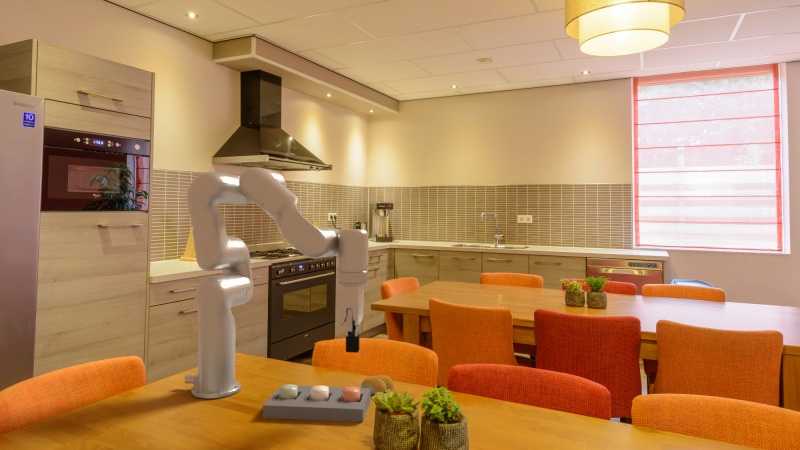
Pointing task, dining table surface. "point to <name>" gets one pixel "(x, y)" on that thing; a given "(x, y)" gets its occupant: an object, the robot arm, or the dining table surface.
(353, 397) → the terracotta button
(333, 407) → the button panel
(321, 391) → the white button
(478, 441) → the dining table surface
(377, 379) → the bread roll
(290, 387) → the sage button
